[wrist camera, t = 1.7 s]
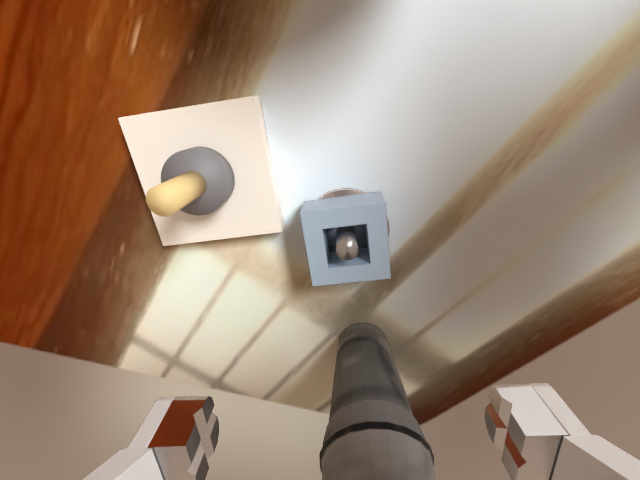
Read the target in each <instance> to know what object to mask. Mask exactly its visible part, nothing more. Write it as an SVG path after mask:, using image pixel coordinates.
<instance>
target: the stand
mask: <svg viewBox="0 0 640 480" xmlns="http://www.w3.org/2000/svg"><path fill="white" fill-rule="evenodd" d="M357 194H365V192H363V191H361V190H357V189H352V188H341V189H336V190H332V191H329V192H327V193H325V194H323V195H322V196H320V197H319V198H318V199H317V200H319V199H326V198H334V197H342V196H350V195H357ZM387 230H388V236H389V223H388V219H387ZM326 235H327V242H328V249H329V252H334V251H336V253H337V255H338V257H339V258H341V259H343V260H351V259H353V258H355V257H356V256H357V254H358V249H360V248H367V240H366V230H365V224H360V225H352V226H344V227H335V228H327V229H326ZM303 236H304V234H303ZM304 241H305V240H304Z"/></svg>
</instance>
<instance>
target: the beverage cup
mask: <svg viewBox="0 0 640 480" xmlns="http://www.w3.org/2000/svg"><path fill="white" fill-rule="evenodd" d="M433 466H434V457H433V453H432V450H431V447H430V445H429V444H428V443H427V442H426V440H425V437H424V434H423V432H422V430H421V428H420V426H419V424H418V422H417V420H416V419H415V418H414V416H413V414H412V411H411V408H410V405H409V402H408V399H407V396H406V393H405V390H404V388H403V385H402V382H401V379H400V376H399V373H398V370H397V367H396V364H395V362H394V359H393V356H392V353H391V350H390V347H389V344H388V343H387V341H386V338H385V335H384V333H383V332H382V331H381V329H380V328H378V327H376V326H375V325H372V324H368V323H358V324H354V325H351V326H349V327H348V328H346V329H345V330H344V331H343V332H342V334H341V336H340V339H339V347H338V350H337V358H336V366H335V375H334V384H333V392H332V401H331V409H330V418H329V423H328V426H327V428H326V433H325V437H324V441H323V447H322V450H321V452H320V469H321V472H322V480H435V473H434V467H433Z"/></svg>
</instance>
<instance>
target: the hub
mask: <svg viewBox="0 0 640 480" xmlns="http://www.w3.org/2000/svg"><path fill="white" fill-rule="evenodd" d="M118 120H119V122H120V125H121V128H122V131H123V134H124V137H125V139H126V142H127V145H128V148H129V151H130V153H131V156H132V159H133V162H134V165H135V168H136V170H137V173H138V176H139V179H140V182H141V185H142V187H143V190H144V193H145V196H146V203H147V205H148V207H149V209H150V210H151V213H152V216H153V218H154V221H155V224H156V227H157V230H158V233H159V235H160V238H161V241H162V244H163V246H169V245H177V244H186V243H194V242H202V241H210V240H219V239H227V238H235V237H244V236H252V235H260V234H269V233H277V232H282V231H283V228H284V226H285V225H284V219H283V214H282V209H281V204H280V199H279V194H278V189H277V184H276V179H275V174H274V169H273V163H272V158H271V153H270V148H269V143H268V138H267V133H266V128H265V123H264V118H263V113H262V107H261V102H260V97H259V96H249V97H243V98H237V99H230V100H224V101H218V102H212V103H206V104H200V105H194V106H188V107H181V108H175V109H169V110H163V111H157V112H151V113H145V114H139V115H132V116H126V117H120V118H118Z"/></svg>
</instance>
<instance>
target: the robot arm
mask: <svg viewBox="0 0 640 480" xmlns="http://www.w3.org/2000/svg"><path fill="white" fill-rule="evenodd" d="M488 397H489V399H490V401H491V403H490V404H489V405H488V406H487V407H486V410H485V421H486V427H487V430H488V433H489V436H490V438H491V440H492V442H493V444H494V445H496V446H497V447H498V448H499V449H501V450H502V451H503V455H502V462H503V464H504V466H505V468H506V470H507V472H508V474H509V476H510V477H511V480H640V461H639V460H637V459H636V458H634V457H633V456H631V455H629V454H628V453H626V452H624V451H623V450H621V449H619V448H618V447H616V446H615V445H613V444H611V443H609V442H608V441H606V440H604V439H603V438H601V437H600V436H598V435H591V434H590V433H589V432H588V430H587V429H586V428H585V427H584V426H583V424H582V423H581V422H580V421H579V419H578V418H577V417H576V416H575V415H574V413H573V412H572V411H571V410H570V409H569V407H568V406H567V405H566V404H565V403H564V401H563V400H562V399H561V398H560V397H559V395H558V394H557V393H556V392H555V391H554V389H553V388H552V387H551V386H550V385H548V384H547V383H538V384H537V383H536V384H512V385H491V386H490V388H489V390H488ZM213 407H214V403H213V400H212V397H209V396H196V397H195V396H194V397H193V396H191V397H160V398H159V399H158V400H157V401H156V402H155V403H154V405H153V407H152V408H151V410H150V412H149V413H148V415H147V417H146V418H145V420H144V421H143V423H142V425H141V427H140V428H139V430H138V431H137V433H136V435H135V437H134V438H133V440H132V441H131V443H130V445H129V447H128V448H127V449H122V450H120V451H119V452H118V453H116V454H115V455H114V456H112V457H111V458H110V459H109V460H107V461H106V462H105V463H103V464H102V465H101V466H100V467H99V468H97V469H96V470H95V471H93V472H92V473H91V474H89V475H88V476H87V477H86V478H84V479H83V480H205V477H206V475H207V472H208V469H209V466H208V463H207V459H208V458H209V457H210V456H211V455H212V454H213V453H214V451H215V448H216V445H217V441H218V434H219V423H218V418H217V416H216V415H215V414H213V413H212V410H213Z"/></svg>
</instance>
